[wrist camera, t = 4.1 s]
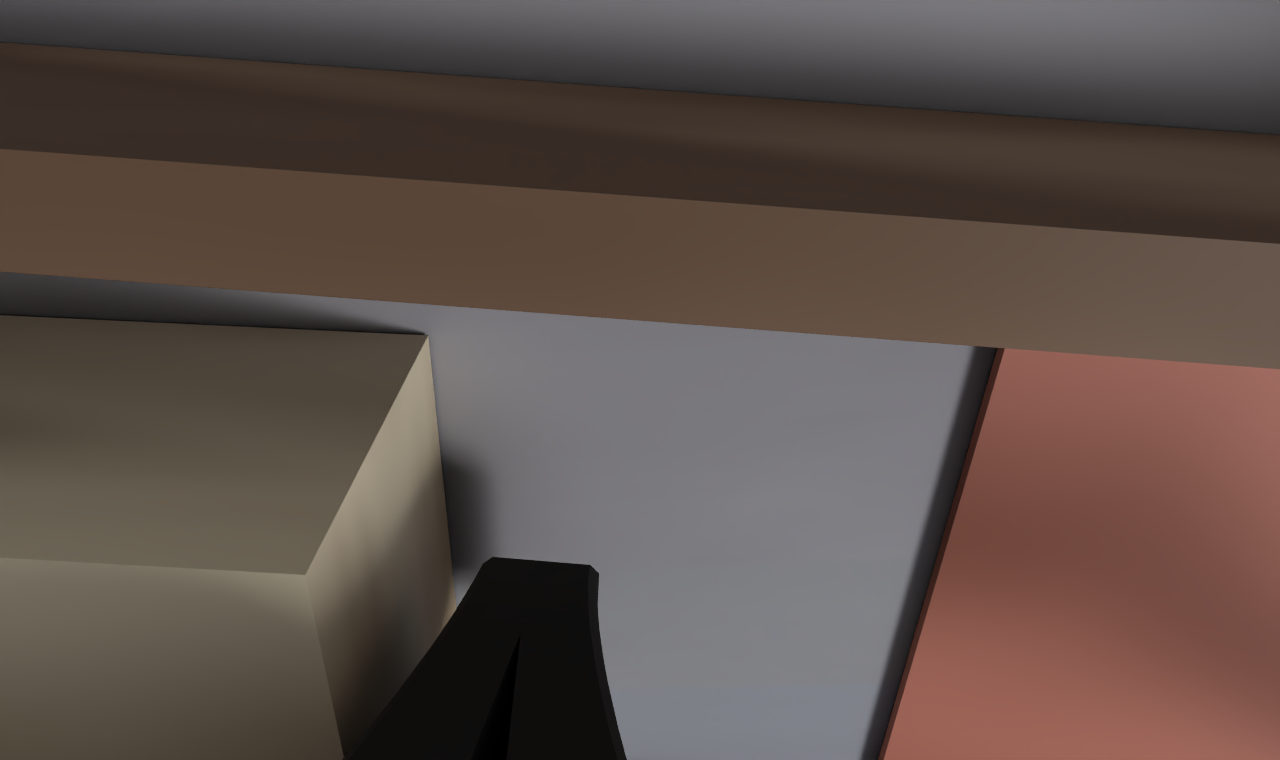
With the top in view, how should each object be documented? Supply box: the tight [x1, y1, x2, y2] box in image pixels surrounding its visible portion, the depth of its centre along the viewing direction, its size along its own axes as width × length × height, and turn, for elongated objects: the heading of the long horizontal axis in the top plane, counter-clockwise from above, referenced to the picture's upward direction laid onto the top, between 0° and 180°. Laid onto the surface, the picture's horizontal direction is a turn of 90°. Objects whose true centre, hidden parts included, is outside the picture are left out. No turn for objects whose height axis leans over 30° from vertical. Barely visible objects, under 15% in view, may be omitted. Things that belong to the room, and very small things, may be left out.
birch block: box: [0, 315, 456, 760], centre depth 11 cm, size 6×6×4 cm
